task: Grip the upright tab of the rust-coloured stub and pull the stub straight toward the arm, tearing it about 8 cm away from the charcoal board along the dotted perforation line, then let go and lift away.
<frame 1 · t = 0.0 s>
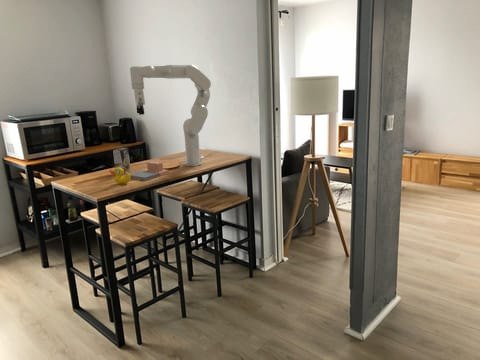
hand: (140, 113, 254), 37 cm above the table, tool pointing down, fingers open, 9 cm apart
stub: (155, 167, 254), point 4 cm above the table, slide at 0.0 cm
ticket board: (143, 176, 246), on the table
duckling: (121, 184, 233), on the table
coffee box: (123, 173, 258), on the table
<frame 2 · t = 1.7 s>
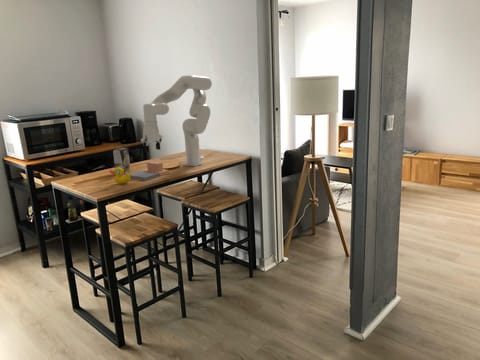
hand: (152, 150, 250), 15 cm above the table, tool pointing down, fingers open, 9 cm apart
nothing on the table moved.
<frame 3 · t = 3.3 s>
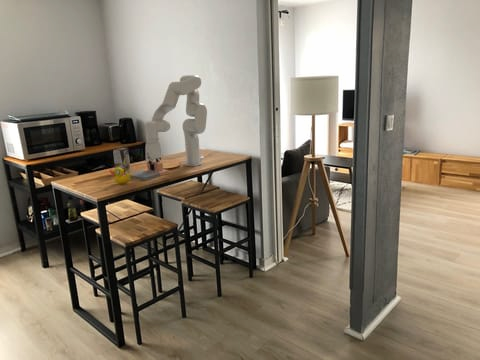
hand: (155, 168, 254), 3 cm above the table, tool pointing down, fingers closed on stub, 4 cm apart
stub: (155, 167, 254), point 4 cm above the table, slide at 0.0 cm, touching gripper
everything else where it was.
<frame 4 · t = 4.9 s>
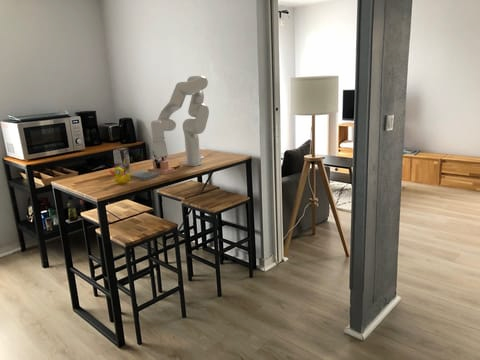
hand: (160, 167, 258), 3 cm above the table, tool pointing down, fingers closed on stub, 4 cm apart
stub: (160, 166, 258), point 4 cm above the table, slide at 5.1 cm, touching gripper
everything else where it was.
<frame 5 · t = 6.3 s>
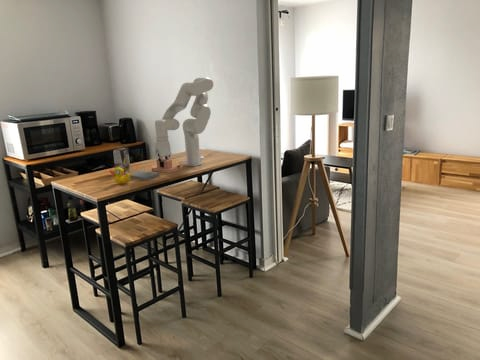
hand: (164, 166, 261), 3 cm above the table, tool pointing down, fingers closed on stub, 4 cm apart
stub: (164, 165, 260), point 4 cm above the table, slide at 8.5 cm, touching gripper
everything else where it was.
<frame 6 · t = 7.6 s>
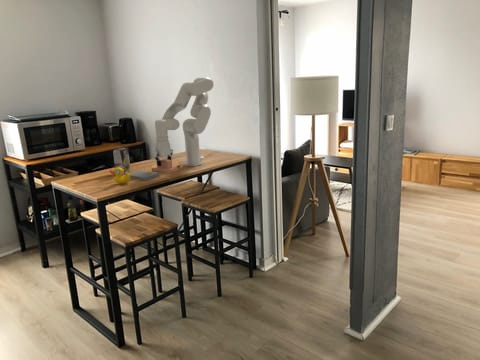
hand: (164, 164, 260), 4 cm above the table, tool pointing down, fingers open, 9 cm apart
stub: (164, 165, 260), point 4 cm above the table, slide at 8.5 cm
everything else where it was.
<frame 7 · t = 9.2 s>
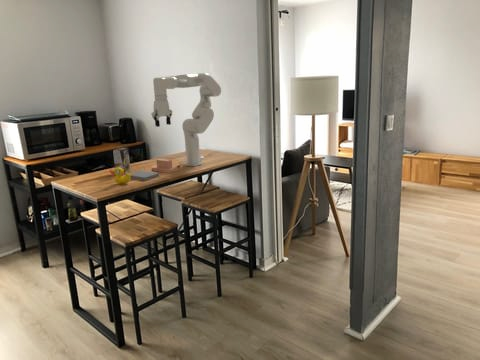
hand: (163, 125, 250), 30 cm above the table, tool pointing down, fingers open, 9 cm apart
nothing on the table moved.
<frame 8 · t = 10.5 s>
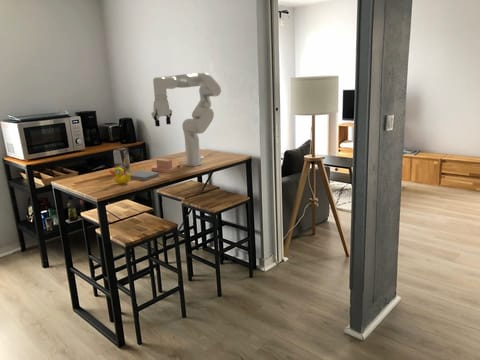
hand: (163, 125, 249), 30 cm above the table, tool pointing down, fingers open, 9 cm apart
nothing on the table moved.
at the end: stub slide at 8.5 cm; the gripper is holding nothing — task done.
